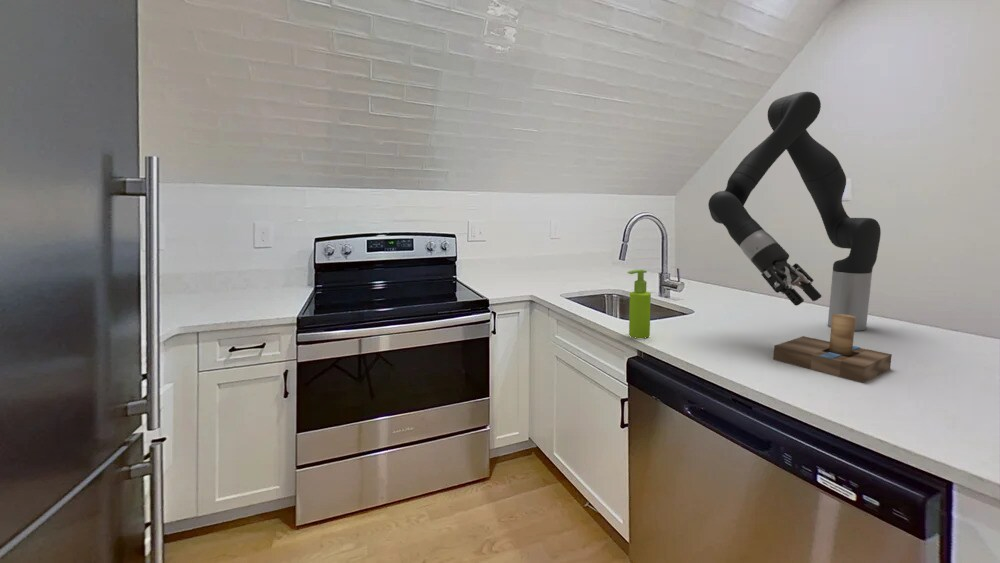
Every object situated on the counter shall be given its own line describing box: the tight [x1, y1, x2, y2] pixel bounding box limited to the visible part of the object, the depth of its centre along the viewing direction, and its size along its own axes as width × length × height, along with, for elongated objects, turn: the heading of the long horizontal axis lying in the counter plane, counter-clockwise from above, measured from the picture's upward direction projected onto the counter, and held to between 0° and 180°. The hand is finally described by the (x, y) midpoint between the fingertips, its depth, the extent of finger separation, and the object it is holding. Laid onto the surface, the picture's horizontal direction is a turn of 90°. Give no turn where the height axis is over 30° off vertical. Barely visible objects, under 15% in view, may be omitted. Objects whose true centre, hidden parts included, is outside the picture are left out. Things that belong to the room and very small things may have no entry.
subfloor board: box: [772, 335, 892, 384], centre depth 101 cm, size 14×18×4 cm
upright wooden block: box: [829, 314, 856, 358], centre depth 99 cm, size 4×4×12 cm
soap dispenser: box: [627, 269, 652, 339], centre depth 127 cm, size 6×7×20 cm
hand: (809, 301), depth 104 cm, fingers open, 8 cm apart
